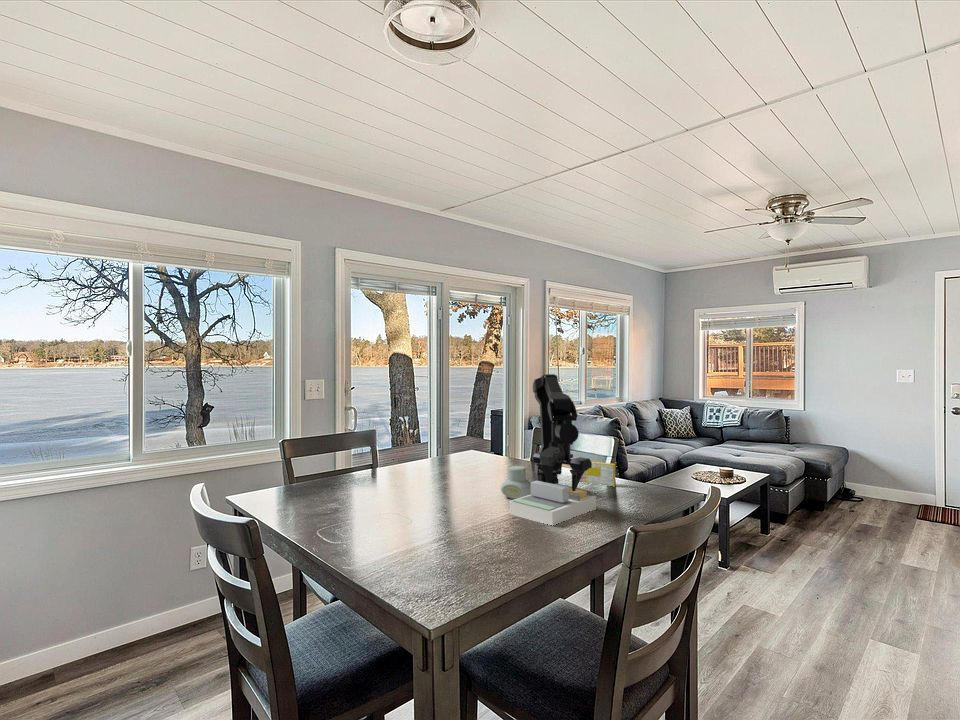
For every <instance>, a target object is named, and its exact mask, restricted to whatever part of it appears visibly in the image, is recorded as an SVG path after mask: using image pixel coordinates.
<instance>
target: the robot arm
mask: <svg viewBox="0 0 960 720" xmlns="http://www.w3.org/2000/svg"><path fill="white" fill-rule="evenodd" d="M532 392H533V394H534V398H535V400H536V401H537V404H538V405H539V417H540V418H539V419H540V420H539V421H540V438H541V440H540V441H541V443H540V444H541V446H540V448H539V450H538V452H535V453H534V454H533V456H532V463H535V464H534V473H535V475H536V476H537V481H541V482H546V483H551V484H556V483H557V484H559V478H558V477H559V475H562V470H563V469H562V468H563V465H566V466H569V467H570V468H571V469H569V472H570V474H571V487H572V491H575V490H576V488H578V486H579V484H580V483H579V481H580V479H581V477H582V475H583V474H584V472H585V471H587V470H588V469H589V468H592V462H593V461H591V458H587V457H582V456H580V457H576V458H574V453H573V454H572V453H571V445H573V444H574V442H576V441H577V440H578V437H579V429H578V428H577V427H576V425H574V424H573V422H575V421H577V419H578V412H577V408H576V405H575V403H574V401H573V400H572V398H571V397H570V396H569V395H568V394H566V393H563V390H562V388H561V386H560V383H559V379H558V376H557V374H554V373H553V374H542V375H541V376H540V377H538V378H535V379H534V381H533V382H532Z"/></svg>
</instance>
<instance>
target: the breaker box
mask: <svg viewBox="0 0 960 720" xmlns="http://www.w3.org/2000/svg"><path fill="white" fill-rule="evenodd" d="M556 485H560V486H565V487H569V488H572V485H570V486H569V485H566V484H561V483H558V484H557V483H556ZM576 489H578V490H583V491H587V496H585V497H583V498H580V495H576V494H572V493H569V501H566V502H563V503H561V502H557V501H553V500H549V499H544V498H540V497H536V496H532V495H527V496H524V497H521V498H517V499H511V500H509V515H511V516H515V517H518V518H522V519H526V520H528V521H529V520H530V521H533V522H536V523H539V522H540V523H541V524H543V523H544V525H547V524H548V526H550V525H552V526H551V527H554V526H557V525H559V524H562V523H564V522H563V521H565V522H567V521H569V520H568V519H570V520H572V519H574V518H573V517H575V518H577V517H580V516H582V515H581V514H583V515H585V514H587V512H588V513H590V512H592V510H593V511H595V510H597V496H596V495H594V490H590V489H584V488H580V487H577V488H576ZM589 511H590V512H589ZM584 513H585V514H584ZM579 515H580V516H579ZM576 516H577V517H576ZM571 518H572V519H571ZM566 520H567V521H566ZM561 522H562V523H561ZM558 523H559V524H558ZM556 524H557V525H556ZM553 525H554V526H553Z"/></svg>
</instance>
